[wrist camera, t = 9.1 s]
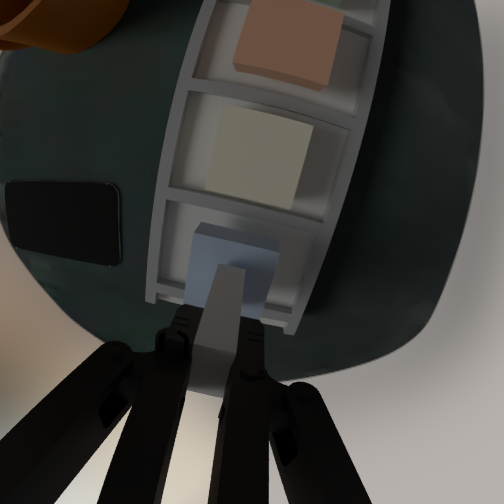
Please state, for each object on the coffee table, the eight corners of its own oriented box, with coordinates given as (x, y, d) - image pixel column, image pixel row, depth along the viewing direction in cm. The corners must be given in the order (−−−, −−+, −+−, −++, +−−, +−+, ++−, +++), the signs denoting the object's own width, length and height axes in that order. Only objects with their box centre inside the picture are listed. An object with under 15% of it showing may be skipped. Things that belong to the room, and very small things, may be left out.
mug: (38, 5, 12) (-17, -14, 3) (139, -37, 11) (96, -87, 3) (22, 78, 15) (-46, 74, 6) (124, 41, 15) (56, 2, 6)
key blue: (201, 221, 17) (193, 232, 15) (278, 239, 17) (280, 252, 15) (189, 288, 19) (182, 304, 17) (259, 304, 19) (258, 322, 17)
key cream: (228, 108, 15) (223, 104, 13) (307, 127, 15) (313, 125, 13) (210, 183, 17) (204, 189, 15) (287, 202, 17) (290, 210, 15)
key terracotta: (255, 5, 11) (255, -10, 9) (335, 25, 12) (344, 13, 10) (235, 71, 13) (232, 62, 11) (319, 91, 13) (327, 85, 12)
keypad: (240, -61, 11) (238, -79, 8) (384, -24, 11) (396, -37, 9) (154, 282, 23) (143, 300, 20) (293, 314, 23) (296, 335, 21)
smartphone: (120, 269, 22) (11, 247, 21) (123, 265, 23) (15, 244, 22) (117, 183, 19) (3, 180, 19) (121, 181, 20) (8, 179, 19)
